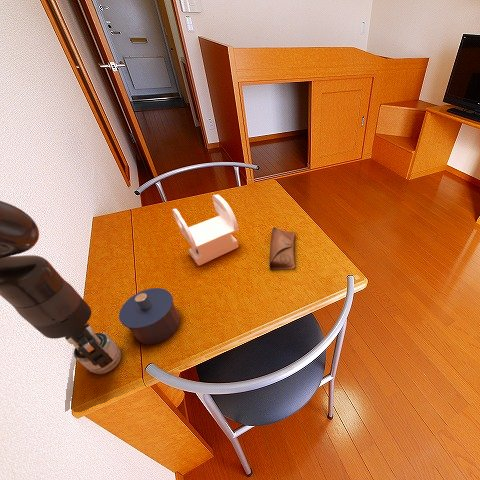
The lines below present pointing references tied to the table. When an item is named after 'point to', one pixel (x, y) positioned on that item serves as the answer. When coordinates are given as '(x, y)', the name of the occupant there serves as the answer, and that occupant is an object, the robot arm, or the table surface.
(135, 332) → the pot
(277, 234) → the sunglasses case
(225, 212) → the tape dispenser
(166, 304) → the pot lid
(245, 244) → the table surface
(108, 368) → the camera lens
